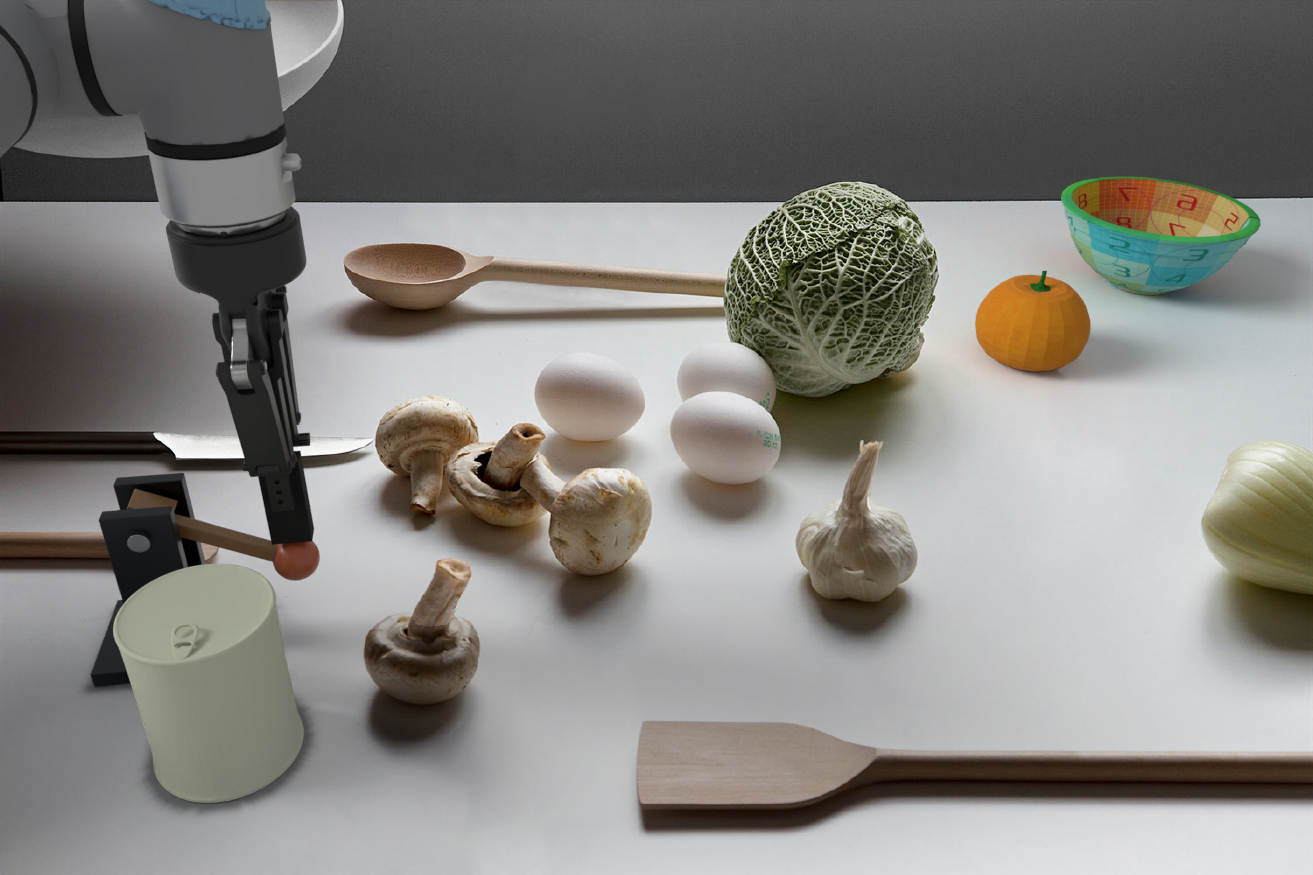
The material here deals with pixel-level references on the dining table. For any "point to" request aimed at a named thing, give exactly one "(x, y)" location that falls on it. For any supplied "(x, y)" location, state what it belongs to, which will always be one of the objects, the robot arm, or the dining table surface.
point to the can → (211, 681)
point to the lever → (239, 540)
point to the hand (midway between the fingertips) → (293, 536)
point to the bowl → (1155, 231)
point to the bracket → (142, 553)
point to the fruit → (1033, 323)
